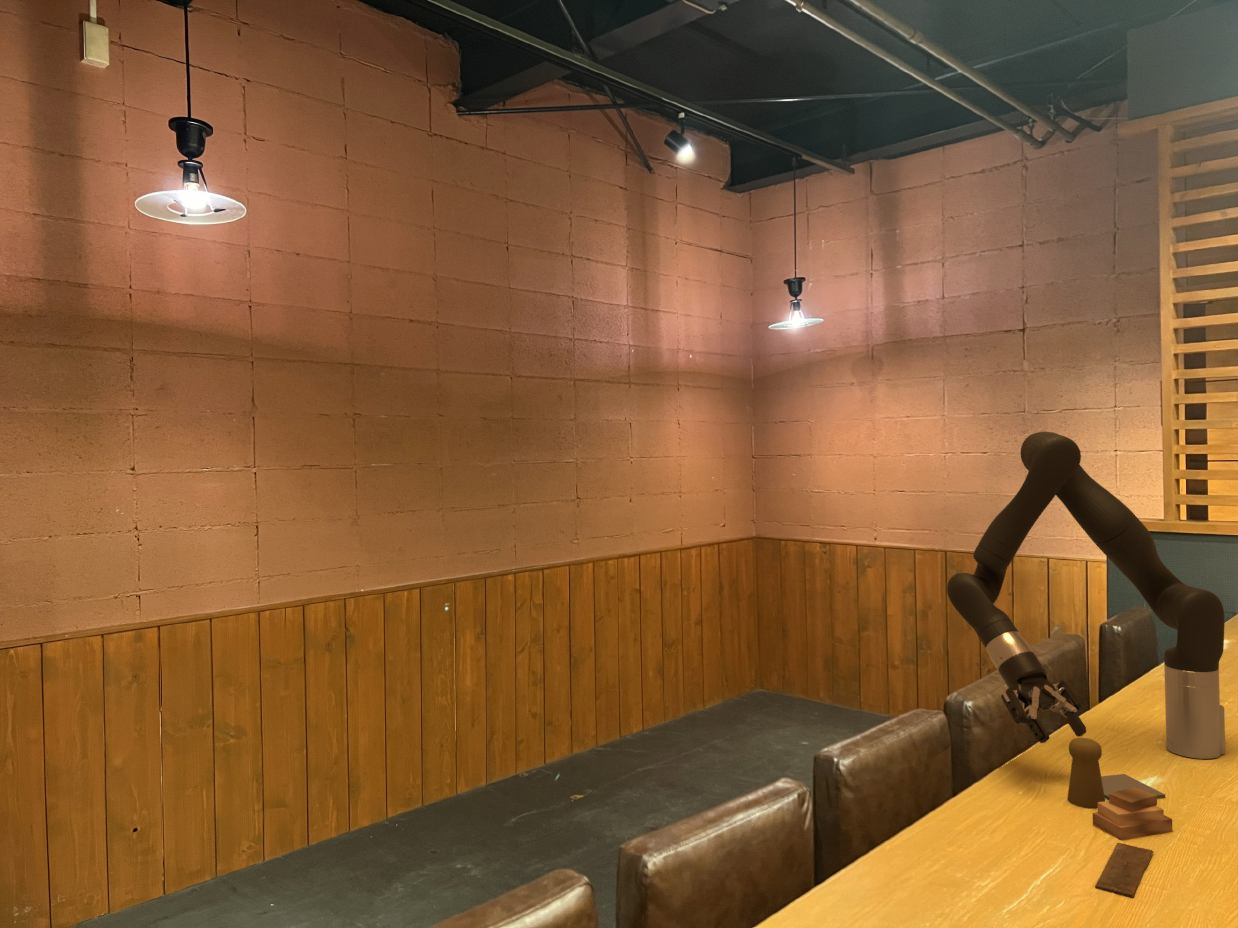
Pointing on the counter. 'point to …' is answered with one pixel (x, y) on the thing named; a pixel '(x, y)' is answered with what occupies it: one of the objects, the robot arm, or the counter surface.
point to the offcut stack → (1131, 815)
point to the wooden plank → (1124, 870)
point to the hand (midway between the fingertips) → (1064, 737)
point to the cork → (1085, 774)
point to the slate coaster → (1125, 785)
